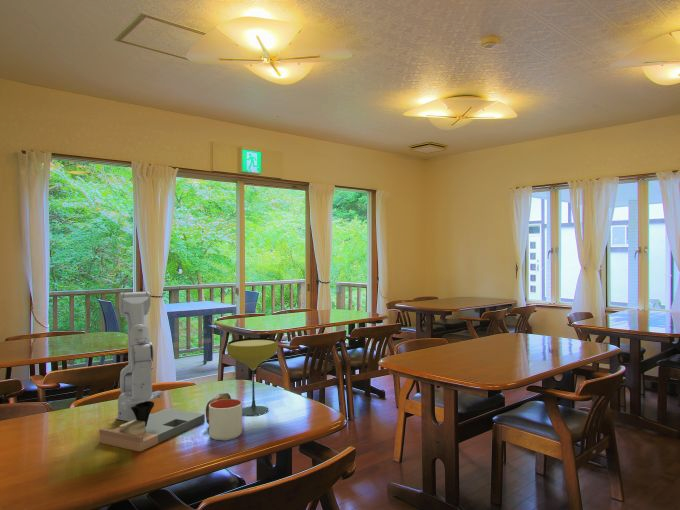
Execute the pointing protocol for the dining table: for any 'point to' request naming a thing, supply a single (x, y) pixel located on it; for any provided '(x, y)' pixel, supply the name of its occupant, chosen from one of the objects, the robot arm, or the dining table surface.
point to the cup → (225, 419)
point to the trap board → (153, 429)
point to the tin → (219, 397)
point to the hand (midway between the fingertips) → (142, 426)
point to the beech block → (133, 427)
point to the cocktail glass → (252, 361)
